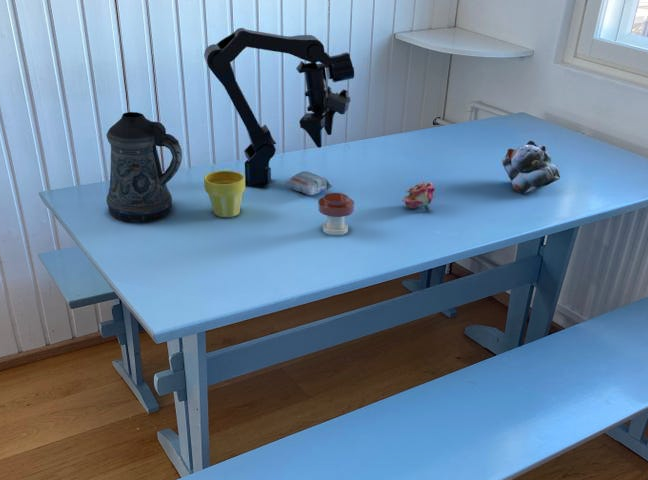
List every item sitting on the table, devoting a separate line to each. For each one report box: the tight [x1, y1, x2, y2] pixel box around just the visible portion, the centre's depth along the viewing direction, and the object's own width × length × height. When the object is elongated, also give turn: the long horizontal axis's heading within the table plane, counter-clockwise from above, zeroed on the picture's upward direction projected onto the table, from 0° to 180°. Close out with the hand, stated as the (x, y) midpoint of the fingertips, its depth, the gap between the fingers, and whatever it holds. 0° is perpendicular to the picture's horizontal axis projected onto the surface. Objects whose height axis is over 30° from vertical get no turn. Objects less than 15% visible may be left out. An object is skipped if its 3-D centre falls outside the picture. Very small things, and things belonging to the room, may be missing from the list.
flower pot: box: [203, 169, 246, 218], centre depth 191 cm, size 10×10×10 cm
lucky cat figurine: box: [501, 140, 561, 195], centre depth 216 cm, size 15×12×14 cm
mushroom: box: [317, 192, 355, 236], centre depth 186 cm, size 9×9×9 cm
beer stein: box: [105, 111, 183, 224], centre depth 186 cm, size 16×19×25 cm
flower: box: [401, 180, 435, 212], centre depth 199 cm, size 10×9×8 cm
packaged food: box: [281, 171, 333, 196], centre depth 206 cm, size 9×12×5 cm
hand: (324, 141), depth 210 cm, fingers open, 9 cm apart
